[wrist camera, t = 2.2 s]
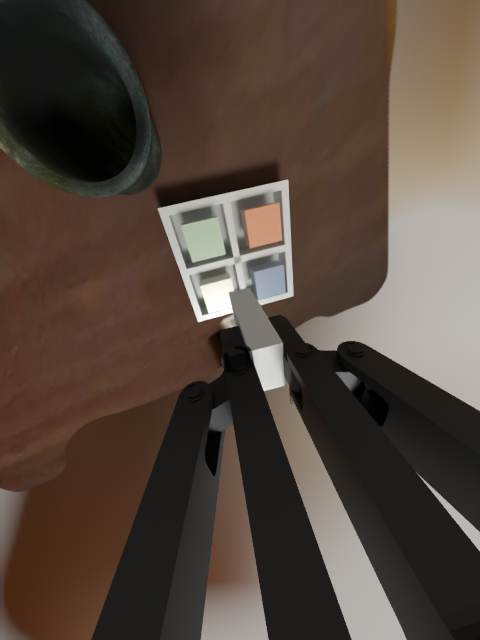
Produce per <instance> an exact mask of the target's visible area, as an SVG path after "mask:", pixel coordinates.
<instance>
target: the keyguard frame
mask: <svg viewBox="0 0 480 640" xmlns="http://www.w3.org/2000/svg"><path fill="white" fill-rule="evenodd" d="M268 203H280V217H281V232H282V241H278V242H274V243H270V244H266V245H262V246H258V247H254V248H249V247H248V246H246V243H245V237H244V230H243V224H242V218H241V212H240V210H242V209H247V208H251V207H255V206H260V205H264V204H268ZM158 211H159V214H160V216H161V219H162V222H163V225H164V228H165V230H166V233H167V236H168V239H169V242H170V245H171V247H172V250H173V253H174V256H175V259H176V261H177V264H178V267H179V270H180V273H181V275H182V278H183V281H184V284H185V287H186V289H187V292H188V295H189V298H190V301H191V303H192V306H193V309H194V312H195V315H196V317H197V320H198V322H201V321H204V320H208V319H212V318H215V317H219V316H223V315H226V314H230V313H233V309H232V307H231V308H227V309H224V310H220V311H216V312H212V313H208V310H207V307H206V304H205V301H204V298H203V294H202V291H201V288H200V283H199V280H202V279H206V278H210V277H214V276H218V275H222V274H226V273H229V275H230V277H231V279H232V284H233V289H234V291H237V290H241V289H245V288H250V289H251V291H252V292H253V286H252V280H251V273H250V267H253V266H257V265H261V264H265V263H269V262H273V261H277V260H278V261H279V262H281V263H282V264H284V275H285V290H286V293H283V294H279V295H275V296H272V297H268V298H264V299H261V300H258V299H257V298H256V299H257V301H258V302H259V304H260V305H263V304H267V303H270V302H274V301H278V300H281V299H285V298H289V297H292V296H293V274H292V252H291V230H290V209H289V187H288V180H284V181H279V182H274V183H270V184H265V185H261V186H256V187H252V188H247V189H243V190H238V191H234V192H229V193H225V194H220V195H216V196H211V197H206V198H202V199H197V200H193V201H188V202H184V203H179V204H175V205H170V206H166V207H161V208H158ZM212 216H217V217H218V220H219V225H220V229H221V234H222V238H223V243H224V247H225V252H226V255H222V256H218V257H214V258H210V259H206V260H202V261H197V262H193V263H192V260H191V256H190V253H189V250H188V247H187V244H186V240H185V237H184V234H183V231H182V228H181V223H186V222H190V221H194V220H199V219H203V218H207V217H212ZM253 294H254V292H253ZM254 296H255V295H254ZM255 297H256V296H255Z"/></svg>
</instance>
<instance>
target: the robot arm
mask: <svg viewBox="0 0 480 640" xmlns="http://www.w3.org/2000/svg"><path fill="white" fill-rule="evenodd" d="M229 296H230V300H231V305H232V309H233V314H234V318H235V323H236V327H232V328H227V329H223V330H222V332H221V334H220V339H221V345H222V351H223V352H222V354H221V361H222V364H223V368H224V372H223V373H222V375H221V376H220V377H219V378H217V379H216V380H214V381H213V382H211V383H209V384H208V383H206V382H204V381H197V382H193V383H191V384H189V385H187V386H186V387H185V388H184V389H183V390H182V391H181V393H180V395H179V398H178V400H177V403H176V406H175V409H174V412H173V414H172V417H171V420H170V422H169V426H168V428H167V431H166V434H165V436H164V439H163V442H162V445H161V448H160V451H159V453H158V456H157V459H156V461H155V464H154V467H153V470H152V473H151V475H150V478H149V481H148V484H147V487H146V490H145V492H144V495H143V497H142V500H141V503H140V506H139V509H138V511H137V514H136V517H135V520H134V523H133V525H132V528H131V531H130V534H129V536H128V540H127V542H126V545H125V548H124V550H123V553H122V556H121V559H120V561H119V564H118V567H117V570H116V573H115V575H114V578H113V581H112V584H111V586H110V590H109V592H108V595H107V598H106V600H105V603H104V606H103V609H102V611H101V614H100V617H99V620H98V623H97V626H96V628H95V631H94V634H93V637H92V639H91V640H200V639H201V630H202V622H203V613H204V605H205V596H206V588H207V579H208V570H209V562H210V553H211V545H212V536H213V527H214V520H215V519H214V518H215V511H216V502H217V494H218V485H219V477H220V468H221V460H222V450H223V443H224V434H225V428H227V427H228V426H230V425H231V424H234V430H235V437H236V443H237V449H238V455H239V461H240V467H241V474H242V480H243V486H244V492H245V497H246V504H247V510H248V516H249V522H250V528H251V534H252V541H253V547H254V552H255V559H256V565H257V571H258V577H259V583H260V589H261V595H262V601H263V608H264V613H265V619H266V626H267V632H268V638H269V640H351V637H350V634H349V631H348V628H347V626H346V623H345V620H344V617H343V615H342V612H341V609H340V606H339V603H338V600H337V597H336V595H335V592H334V589H333V586H332V583H331V580H330V577H329V575H328V572H327V569H326V566H325V564H324V560H323V558H322V555H321V552H320V549H319V546H318V543H317V541H316V538H315V535H314V532H313V530H312V526H311V524H310V521H309V518H308V515H307V512H306V510H305V507H304V504H303V501H302V498H301V495H300V493H299V490H298V487H297V484H296V481H295V478H294V475H293V473H292V470H291V467H290V464H289V461H288V458H287V456H286V453H285V450H284V447H283V444H282V442H281V439H280V436H279V433H278V430H277V428H276V424H275V422H274V419H273V416H272V413H271V410H270V408H269V405H268V402H267V399H266V396H265V393H264V391H266V390H270V389H274V388H277V387H281V386H285V385H286V380H287V382H288V384H289V391H290V401H291V404H293V401H294V403H295V405H296V407H297V409H298V411H299V413H300V415H301V417H302V420H303V422H304V424H305V426H306V428H307V430H308V432H309V434H310V436H311V438H312V441H313V443H314V445H315V447H316V449H317V451H318V453H319V455H320V457H321V459H322V462H323V464H324V466H325V468H326V470H327V472H328V474H329V476H330V478H331V480H332V482H333V485H334V487H335V489H336V491H337V493H338V495H339V497H340V499H341V501H342V503H343V506H344V508H345V510H346V511H347V514H348V516H349V518H350V520H351V522H352V524H353V526H354V529H355V531H356V533H357V535H358V537H359V539H360V541H361V543H362V545H363V547H364V549H365V552H366V554H367V556H368V557H369V560H370V562H371V564H372V566H373V568H374V570H375V572H376V575H377V577H378V579H379V581H380V583H381V585H382V587H383V589H384V591H385V593H386V596H387V598H388V600H389V602H390V604H391V606H392V608H393V610H394V612H395V614H396V616H397V618H398V621H399V623H400V625H401V627H402V629H403V631H404V634H405V636H406V639H407V640H480V551H479V550H478V549H477V548H476V546H475V545H474V544H473V543H472V541H471V540H470V539H469V538H468V536H467V535H466V534H465V533H464V532H463V530H462V529H461V528H460V526H459V525H458V524H457V523H456V521H455V520H454V519H453V518H452V517H451V515H450V514H449V513H448V512H447V510H446V509H445V508H444V507H443V505H442V504H441V503H440V502H439V500H438V499H437V498H436V497H435V495H434V494H433V493H432V492H431V490H430V489H429V488H428V487H427V485H426V484H425V483H424V482H423V480H422V479H421V478H420V477H419V475H420V476H421V477H422V478H423V479H424V480H425V481H426V482H427V483H428V484H429V485H430V486H432V487H433V488H434V489H435V490H436V491H437V492H438V493H439V494H440V495H441V496H442V497H443V498H444V499H445V500H447V501H448V502H449V503H450V504H451V505H452V506H453V507H454V508H455V509H456V510H457V511H458V512H459V513H460V514H461V515H462V516H464V517H465V518H466V519H467V520H468V521H469V522H470V523H471V524H472V525H473V526H474V527H475V528H476V529H477V530H478V531H480V411H479V410H477V409H475V408H473V407H472V406H470V405H468V404H466V403H465V402H463V401H461V400H460V399H458V398H456V397H455V396H453V395H451V394H449V393H448V392H446V391H444V390H442V389H441V388H439V387H437V386H436V385H434V384H432V383H431V382H429V381H427V380H425V379H424V378H422V377H420V376H418V375H417V374H415V373H413V372H412V371H410V370H408V369H406V368H405V367H403V366H401V365H400V364H398V363H396V362H394V361H392V360H391V359H389V358H388V357H386V356H384V355H382V354H381V353H379V352H377V351H376V350H374V349H372V348H370V347H369V346H367V345H365V344H363V343H360V342H355V341H347V342H343V343H341V344H340V345H339V346H338V348H337V351H320V350H317V349H316V348H315V347H314V346H313V345H310V344H308V343H305V342H304V341H303V340H302V338H301V337H300V336H299V334H298V333H297V332H296V330H295V329H294V328H293V326H292V325H291V324H290V322H289V321H288V320H287V318H285V317H283V316H281V315H278V316H274V317H270V318H268V317H267V316H266V314H265V312H264V311H263V309H262V307H261V306H260V304H259V302H258V301H257V299H256V297H255V296H254V294H253V292H252V291H251V289H250V288H245V289H241V290H237V291H232V292H229ZM416 472H417V473H418V474H419V475H418V474H417V473H416Z"/></svg>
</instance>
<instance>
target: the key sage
mask: <svg viewBox="0 0 480 640" xmlns="http://www.w3.org/2000/svg"><path fill="white" fill-rule="evenodd" d="M181 228H182V231H183V234H184V237H185V240H186V244H187V247H188V250H189V253H190V256H191V260H192V263H193V262H197V261H202V260H206V259H210V258H214V257H218V256H222V255H226V252H225V247H224V243H223V238H222V234H221V229H220V225H219V220H218V217H217V216H212V217H207V218H203V219H199V220H194V221H190V222H186V223H181Z"/></svg>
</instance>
